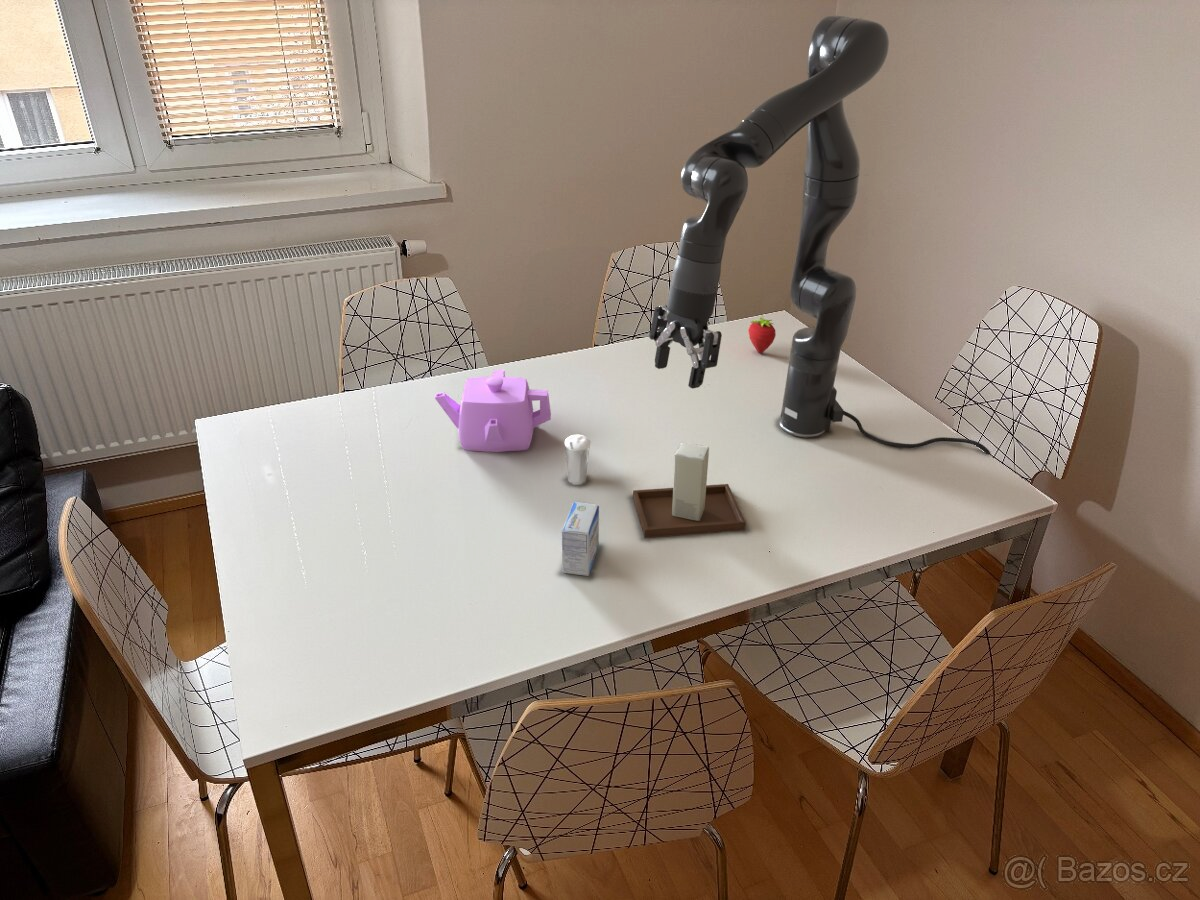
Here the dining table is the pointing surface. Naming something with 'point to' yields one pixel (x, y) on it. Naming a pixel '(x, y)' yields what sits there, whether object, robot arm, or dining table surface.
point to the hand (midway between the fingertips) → (676, 377)
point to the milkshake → (577, 458)
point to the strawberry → (761, 334)
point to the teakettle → (496, 413)
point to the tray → (661, 522)
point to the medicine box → (580, 538)
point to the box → (690, 481)
